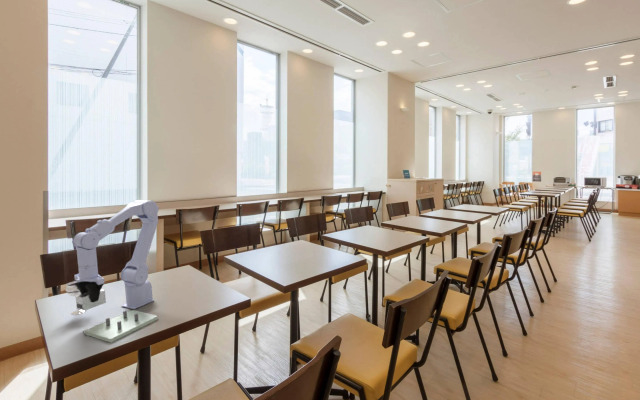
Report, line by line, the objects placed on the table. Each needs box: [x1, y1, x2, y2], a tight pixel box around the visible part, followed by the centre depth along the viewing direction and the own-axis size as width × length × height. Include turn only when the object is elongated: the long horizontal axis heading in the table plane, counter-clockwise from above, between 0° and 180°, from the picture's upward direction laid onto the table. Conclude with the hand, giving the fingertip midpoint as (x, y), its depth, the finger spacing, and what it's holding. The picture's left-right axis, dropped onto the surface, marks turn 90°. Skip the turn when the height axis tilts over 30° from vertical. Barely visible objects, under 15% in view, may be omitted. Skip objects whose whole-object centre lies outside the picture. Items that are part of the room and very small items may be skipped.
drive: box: [75, 288, 107, 311], centre depth 122 cm, size 8×4×5 cm, turn 156°
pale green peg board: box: [83, 309, 159, 343], centre depth 119 cm, size 18×14×4 cm
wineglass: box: [65, 280, 87, 316], centre depth 131 cm, size 7×7×12 cm
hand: (91, 300), depth 122 cm, fingers closed on drive, 4 cm apart
